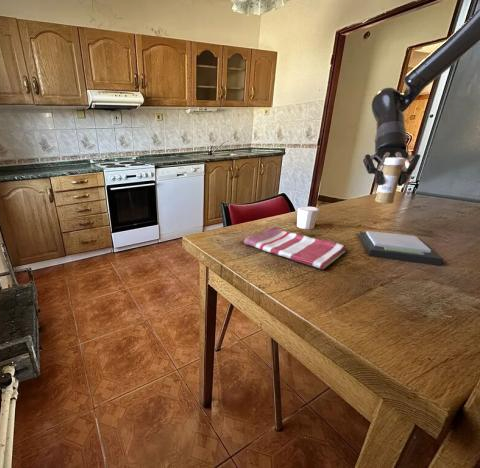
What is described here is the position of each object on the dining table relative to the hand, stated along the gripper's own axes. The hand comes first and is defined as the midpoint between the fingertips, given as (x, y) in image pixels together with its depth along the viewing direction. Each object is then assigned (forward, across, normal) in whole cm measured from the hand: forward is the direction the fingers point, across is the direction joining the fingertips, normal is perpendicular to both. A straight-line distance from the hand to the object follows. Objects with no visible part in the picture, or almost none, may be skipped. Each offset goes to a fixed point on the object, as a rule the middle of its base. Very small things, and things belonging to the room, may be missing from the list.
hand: (390, 183), depth 77 cm
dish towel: (+26, -24, -1) cm, 35 cm away
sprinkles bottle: (+3, 0, +6) cm, 7 cm away
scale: (+18, +3, +6) cm, 20 cm away
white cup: (+9, -20, +16) cm, 27 cm away
